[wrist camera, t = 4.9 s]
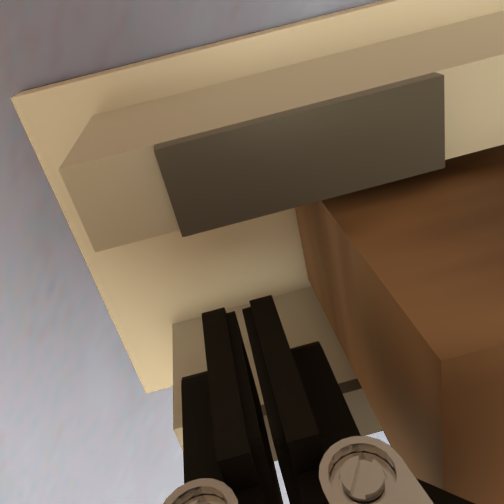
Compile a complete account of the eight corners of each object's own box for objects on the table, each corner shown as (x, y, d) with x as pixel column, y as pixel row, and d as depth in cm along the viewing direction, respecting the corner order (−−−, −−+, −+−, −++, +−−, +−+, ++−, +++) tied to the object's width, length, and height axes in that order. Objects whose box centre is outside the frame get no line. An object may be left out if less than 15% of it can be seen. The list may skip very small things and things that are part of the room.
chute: (147, 376, 20) (138, 521, 15) (20, 92, 14) (-75, 153, 9) (717, 220, 21) (915, 301, 15) (820, -111, 15) (1203, -174, 9)
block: (308, 279, 18) (444, 554, 9) (284, 152, 15) (440, 360, 6) (486, 231, 18) (789, 453, 9) (492, 97, 15) (912, 229, 7)
